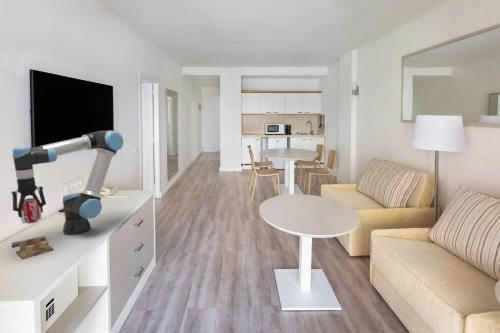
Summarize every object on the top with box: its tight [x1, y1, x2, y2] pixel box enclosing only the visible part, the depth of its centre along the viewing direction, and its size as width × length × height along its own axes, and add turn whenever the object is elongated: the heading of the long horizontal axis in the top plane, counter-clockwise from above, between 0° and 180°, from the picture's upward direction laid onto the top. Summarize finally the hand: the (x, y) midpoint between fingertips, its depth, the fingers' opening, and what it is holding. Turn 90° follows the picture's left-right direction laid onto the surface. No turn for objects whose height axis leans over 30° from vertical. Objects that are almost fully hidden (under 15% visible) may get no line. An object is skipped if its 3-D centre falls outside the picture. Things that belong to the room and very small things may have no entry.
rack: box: [15, 236, 54, 260], centre depth 179 cm, size 14×12×6 cm
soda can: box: [22, 197, 40, 225], centre depth 175 cm, size 7×7×12 cm
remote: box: [11, 235, 47, 249], centre depth 192 cm, size 16×4×2 cm, turn 125°
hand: (32, 220), depth 176 cm, fingers closed on soda can, 7 cm apart
